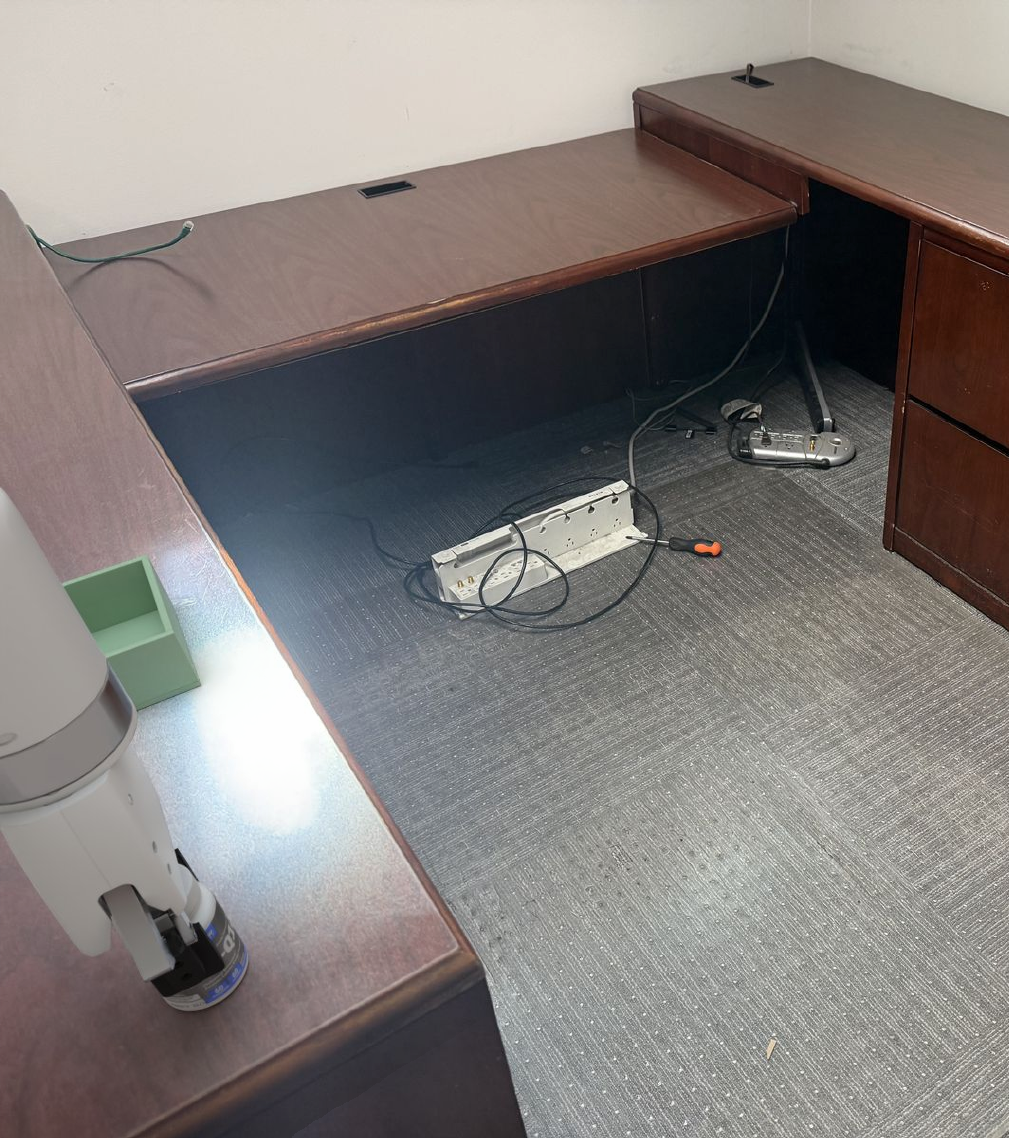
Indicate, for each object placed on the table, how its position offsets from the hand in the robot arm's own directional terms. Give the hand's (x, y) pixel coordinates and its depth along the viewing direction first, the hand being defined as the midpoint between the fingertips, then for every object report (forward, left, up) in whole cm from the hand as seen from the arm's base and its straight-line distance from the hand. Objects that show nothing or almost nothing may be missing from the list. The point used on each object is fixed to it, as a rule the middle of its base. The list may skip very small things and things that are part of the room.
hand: (183, 939), depth 58 cm
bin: (+8, +30, -4) cm, 31 cm away
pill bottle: (0, 0, -4) cm, 4 cm away
